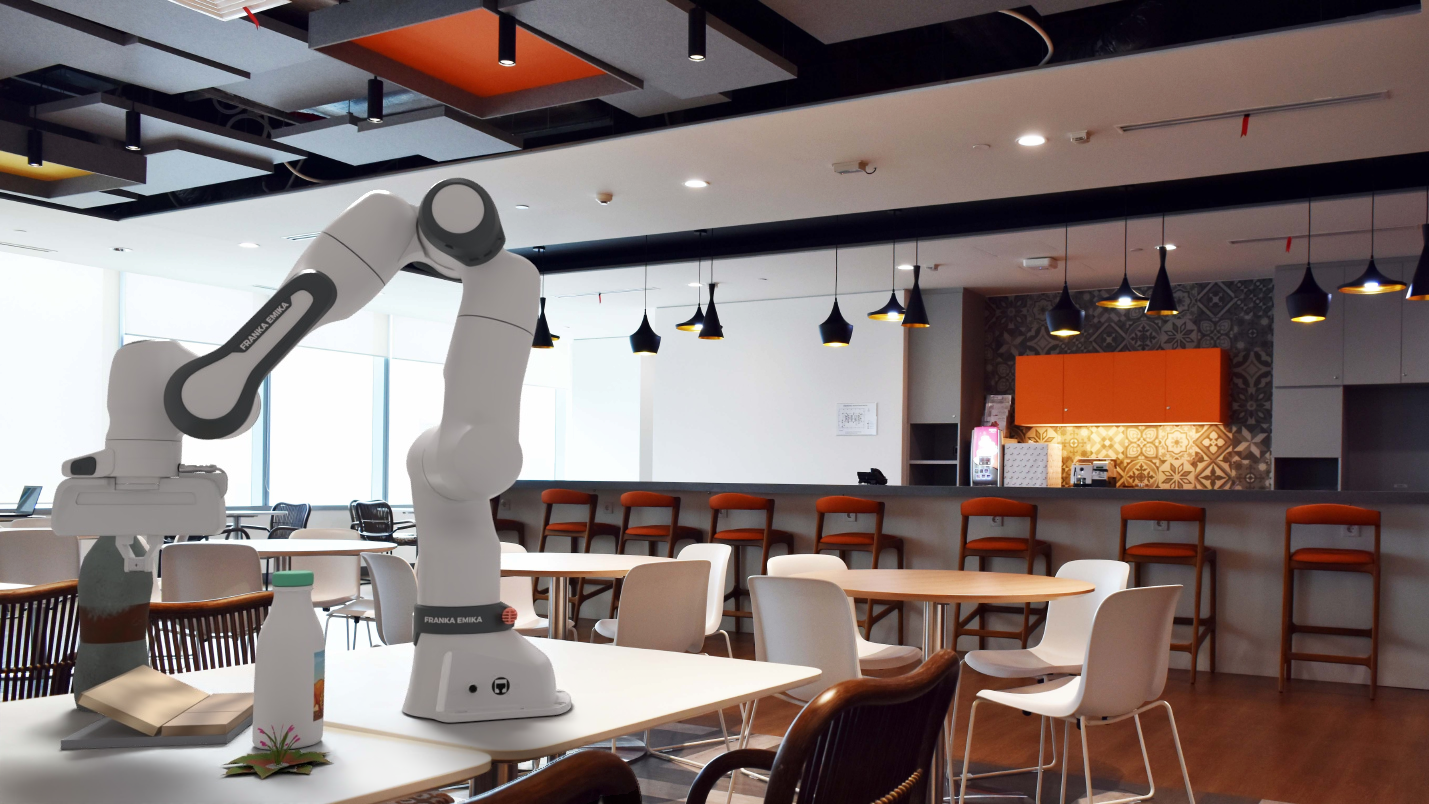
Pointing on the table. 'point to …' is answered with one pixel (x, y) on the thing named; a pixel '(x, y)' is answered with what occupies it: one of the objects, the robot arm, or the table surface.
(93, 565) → the vodka
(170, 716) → the plank
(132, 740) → the underlay
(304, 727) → the milk bottle
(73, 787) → the table surface
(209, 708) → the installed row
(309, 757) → the green plant with flowers
